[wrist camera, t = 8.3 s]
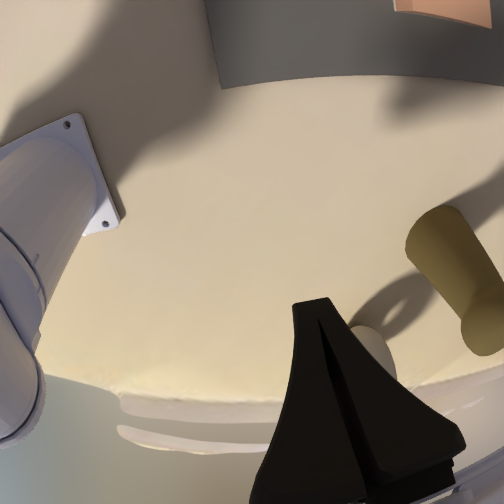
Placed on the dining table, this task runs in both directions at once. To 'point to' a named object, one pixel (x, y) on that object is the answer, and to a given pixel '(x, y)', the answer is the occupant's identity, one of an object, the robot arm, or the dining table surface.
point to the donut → (376, 347)
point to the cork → (460, 275)
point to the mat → (348, 42)
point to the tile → (450, 10)
